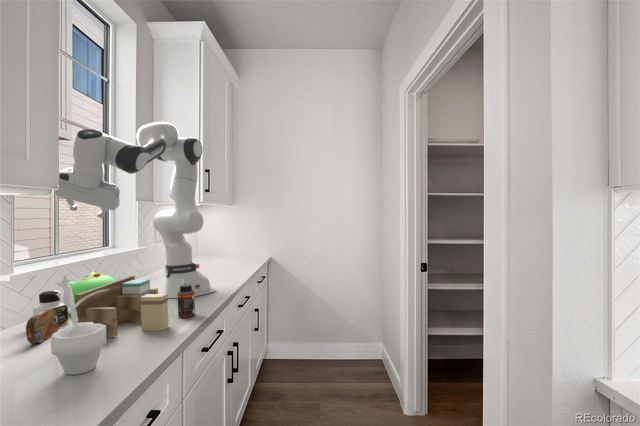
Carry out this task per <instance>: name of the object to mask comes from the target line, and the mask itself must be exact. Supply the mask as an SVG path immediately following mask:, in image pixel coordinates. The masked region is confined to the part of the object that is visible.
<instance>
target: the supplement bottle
mask: <svg viewBox="0 0 640 426" xmlns="http://www.w3.org/2000/svg"><path fill="white" fill-rule="evenodd" d="M191 288H192V287H191V285H190V284H186V285H181V286H180V291H179V292H178V294H177V298H176V299H177V316H178V318H183V319H184V318H192V317H194V316H195V315H196V304H195V302H196V300H195V299H196V298H195V297H196V296H195V295H194V291H193V290H192V289H191Z"/></svg>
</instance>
